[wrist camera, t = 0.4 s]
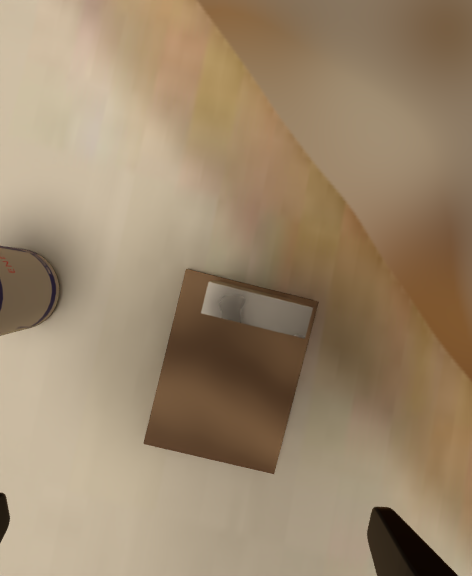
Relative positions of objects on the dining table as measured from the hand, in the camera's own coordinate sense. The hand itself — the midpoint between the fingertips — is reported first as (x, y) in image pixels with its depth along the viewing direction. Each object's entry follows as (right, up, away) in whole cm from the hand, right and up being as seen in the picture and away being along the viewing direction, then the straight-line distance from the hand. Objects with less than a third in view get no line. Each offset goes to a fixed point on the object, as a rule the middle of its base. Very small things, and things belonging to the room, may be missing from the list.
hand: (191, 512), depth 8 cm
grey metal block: (+2, +5, +14) cm, 14 cm away
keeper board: (+1, 0, +14) cm, 14 cm away
